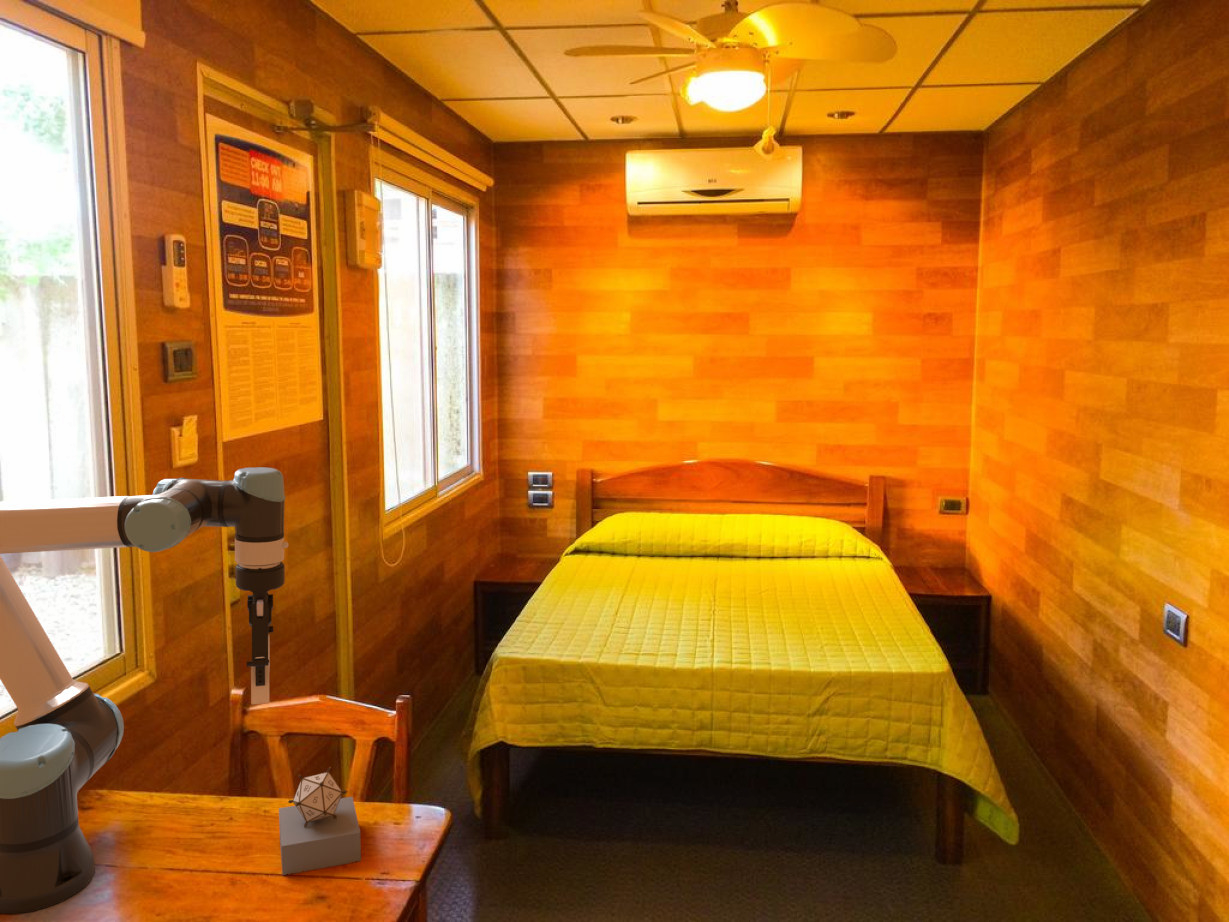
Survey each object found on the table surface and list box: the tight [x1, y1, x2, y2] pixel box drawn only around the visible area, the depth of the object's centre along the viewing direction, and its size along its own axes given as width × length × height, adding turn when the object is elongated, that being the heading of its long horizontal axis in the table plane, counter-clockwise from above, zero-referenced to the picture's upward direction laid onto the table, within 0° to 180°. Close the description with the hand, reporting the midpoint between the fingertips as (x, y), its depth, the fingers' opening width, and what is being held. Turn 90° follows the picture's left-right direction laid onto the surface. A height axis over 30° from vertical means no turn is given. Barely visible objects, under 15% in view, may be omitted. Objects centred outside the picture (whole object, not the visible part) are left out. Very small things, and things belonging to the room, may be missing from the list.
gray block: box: [278, 796, 362, 876], centre depth 154 cm, size 12×12×5 cm
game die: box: [287, 766, 349, 828], centre depth 154 cm, size 9×8×10 cm
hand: (260, 686), depth 155 cm, fingers open, 13 cm apart
